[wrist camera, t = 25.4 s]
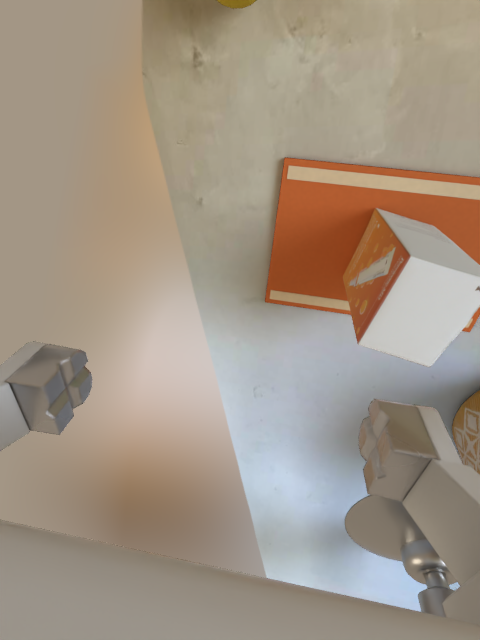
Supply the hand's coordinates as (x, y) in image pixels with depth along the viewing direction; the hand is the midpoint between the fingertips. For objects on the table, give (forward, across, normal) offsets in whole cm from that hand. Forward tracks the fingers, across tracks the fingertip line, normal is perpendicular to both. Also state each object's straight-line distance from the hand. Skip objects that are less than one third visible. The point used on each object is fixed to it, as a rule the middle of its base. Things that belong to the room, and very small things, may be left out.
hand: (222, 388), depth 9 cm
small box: (+28, -12, +5) cm, 31 cm away
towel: (+29, -12, +5) cm, 32 cm away
